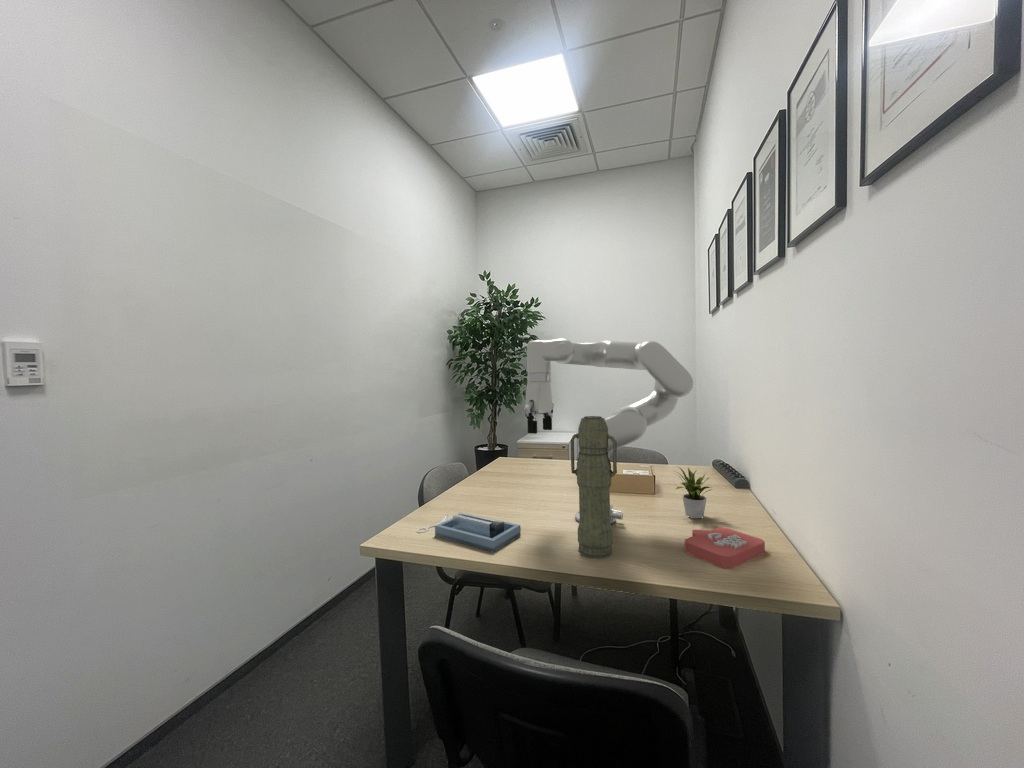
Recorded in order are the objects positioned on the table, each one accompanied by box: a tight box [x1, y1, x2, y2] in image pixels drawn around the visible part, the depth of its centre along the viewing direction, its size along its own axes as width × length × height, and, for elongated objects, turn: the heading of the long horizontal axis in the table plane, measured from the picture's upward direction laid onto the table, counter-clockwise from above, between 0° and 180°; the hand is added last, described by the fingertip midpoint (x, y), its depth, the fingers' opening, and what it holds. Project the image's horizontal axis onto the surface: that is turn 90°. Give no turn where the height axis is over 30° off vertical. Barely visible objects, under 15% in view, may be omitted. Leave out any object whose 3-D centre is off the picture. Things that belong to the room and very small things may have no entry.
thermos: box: [570, 415, 618, 559], centre depth 102 cm, size 9×12×35 cm
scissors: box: [416, 512, 458, 534], centre depth 125 cm, size 11×1×20 cm
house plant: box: [673, 465, 717, 519], centre depth 127 cm, size 14×14×16 cm
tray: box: [434, 512, 522, 553], centre depth 114 cm, size 21×13×3 cm, turn 56°
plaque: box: [684, 526, 766, 569], centre depth 102 cm, size 18×4×15 cm
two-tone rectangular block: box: [452, 511, 505, 538], centre depth 114 cm, size 16×4×4 cm, turn 56°
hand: (540, 431), depth 127 cm, fingers open, 9 cm apart
